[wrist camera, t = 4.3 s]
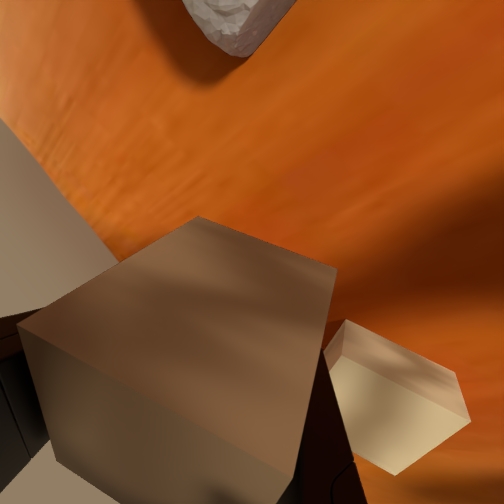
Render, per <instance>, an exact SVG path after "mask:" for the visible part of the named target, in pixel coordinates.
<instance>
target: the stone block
mask: <svg viewBox="0 0 504 504" xmlns="http://www.w3.org/2000/svg"><path fill="white" fill-rule="evenodd" d="M182 1H183V3H184V5H185V7H186V9H187V11H188V12H189V14H190V15H191V17H192V18H193V20H194V21H195V23H196V24H197V25H198V26H199V28H200V29H201V30H202V32H203V33H204V35H205V36H206V37H207V39H208V40H209V41H210V42H212V43H213V44H215V45H217V46H218V47H220V48H221V49H222V50H223V51H224V52H226V53H227V54H229V55H231V56H238V57H242V58H243V57H248V56H249V55H251V54H252V53H254V51H255V50H256V49H257V48H258V47H259V45H260V44H261V43H262V42H263V41H264V40H265V39H266V37H267V36H268V35H269V34H270V32H271V31H272V30H273V29H274V27H275V26H276V25H277V23H278V22H279V21H280V20H281V19H282V17H283V16H284V15H285V14H286V13H287V11H288V10H289V9H290V8H291V6H292V5H293V4H294V3H295V1H296V0H182Z"/></svg>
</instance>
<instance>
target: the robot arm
mask: <svg viewBox="0 0 504 504" xmlns="http://www.w3.org/2000/svg"><path fill="white" fill-rule="evenodd" d="M44 308H45V307H44ZM41 309H43V308H40V309H36V310H32V311H28V312H24V313H20V314H15V315H11V316H6V317H2V318H0V493H1V492H2V491H3V489H5V487H6V486H7V485H8V484H9V483H10V482H11V481H12V480H13V479H14V478H15V477H16V476H17V474H18V473H19V472H20V471H21V470H22V469H23V468H24V467H25V466H26V465H27V464H28V462H29V461H30V460H31V458H33V457H34V456H35V455H36V454H37V452H39V450H40V449H41V448H42V447H43V446H44V445H45V444H46V443H47V442H48V441H49V440H50V437H49V434H48V430H47V427H46V424H45V420H44V417H43V413H42V410H41V407H40V403H39V400H38V396H37V393H36V390H35V386H34V383H33V379H32V376H31V373H30V369H29V366H28V362H27V359H26V356H25V352H24V349H23V345H22V342H21V338H20V335H19V332H18V328H17V325H16V324H18V323H19V322H21V321H23V320H24V319H26V318H28V317H29V316H31V315H33V314H34V313H36V312H38V311H39V310H41ZM353 461H354V457H353V453H352V450H351V446H350V443H349V439H348V436H347V432H346V429H345V425H344V422H343V419H342V415H341V412H340V408H339V405H338V401H337V398H336V394H335V391H334V387H333V384H332V380H331V377H330V373H329V370H328V366H327V363H326V359H325V356H324V352H323V349H322V347H321V349H320V354H319V358H318V363H317V368H316V372H315V377H314V382H313V386H312V391H311V395H310V400H309V405H308V409H307V414H306V419H305V423H304V428H303V433H302V437H301V442H300V447H299V451H298V456H297V460H296V465H295V470H294V474H293V478H292V480H291V482H290V483H289V485H288V486H287V488H286V489H285V491H284V492H283V494H282V495H281V497H280V498H279V500H278V501H277V503H276V504H368V503H367V500H366V497H365V494H364V490H363V487H362V484H361V481H360V477H359V474H358V470H357V467H356V464H355V462H353Z"/></svg>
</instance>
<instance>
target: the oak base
mask: <svg viewBox="0 0 504 504" xmlns="http://www.w3.org/2000/svg"><path fill="white" fill-rule="evenodd" d="M324 356H325V359H326V363H327V366H328V370H329V373H330V377H331V380H332V384H333V387H334V391H335V394H336V398H337V401H338V405H339V408H340V412H341V415H342V419H343V422H344V425H345V429H346V432H347V436H348V439H349V443H350V446H351V450H352V452H354V453H356V454H358V455H359V456H361V457H363V458H365V459H366V460H368V461H370V462H372V463H373V464H375V465H377V466H379V467H380V468H382V469H384V470H386V471H387V472H389V473H391V474H393V475H394V476H395V475H397V474H398V473H400V472H401V471H402V470H404V469H405V468H407V467H408V466H409V465H411V464H412V463H414V462H415V461H416V460H418V459H419V458H421V457H422V456H423V455H425V454H426V453H428V452H429V451H430V450H432V449H433V448H435V447H436V446H437V445H439V444H440V443H442V442H443V441H444V440H446V439H447V438H449V437H450V436H451V435H453V434H454V433H456V432H457V431H458V430H460V429H461V428H463V427H464V426H465V425H467V424H468V423H470V422H471V420H470V417H469V414H468V411H467V408H466V405H465V402H464V399H463V396H462V393H461V390H460V387H459V384H458V381H457V378H456V375H455V372H453V371H451V370H449V369H447V368H445V367H443V366H440V365H438V364H436V363H434V362H432V361H430V360H428V359H426V358H424V357H422V356H420V355H418V354H416V353H414V352H412V351H410V350H408V349H406V348H404V347H402V346H400V345H398V344H396V343H394V342H392V341H390V340H388V339H386V338H384V337H382V336H380V335H378V334H376V333H374V332H372V331H369V330H367V329H365V328H363V327H361V326H359V325H357V324H355V323H353V322H351V321H349V320H347V319H345V321H344V322H343V324H342V325H341V327H340V328H339V330H338V331H337V333H336V334H335V336H334V337H333V338H332V340H331V341H330V343H329V344H328V346H327V347H326V349H325V350H324Z"/></svg>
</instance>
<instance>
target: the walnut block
mask: <svg viewBox="0 0 504 504" xmlns="http://www.w3.org/2000/svg"><path fill="white" fill-rule="evenodd" d="M337 270H338V269H337V268H334V267H331V266H329V265H326V264H323V263H321V262H318V261H315V260H313V259H310V258H307V257H305V256H302V255H300V254H297V253H294V252H292V251H289V250H286V249H284V248H281V247H278V246H276V245H273V244H270V243H268V242H265V241H263V240H260V239H257V238H255V237H252V236H249V235H247V234H244V233H241V232H239V231H236V230H233V229H231V228H228V227H226V226H223V225H220V224H218V223H215V222H212V221H210V220H207V219H204V218H202V217H199V216H197V217H196V218H194V219H192V220H190V221H189V222H187V223H185V224H184V225H182V226H180V227H179V228H177V229H175V230H174V231H172V232H170V233H169V234H167V235H165V236H164V237H162V238H160V239H159V240H157V241H155V242H154V243H152V244H150V245H149V246H147V247H145V248H144V249H142V250H140V251H138V252H137V253H135V254H133V255H132V256H130V257H128V258H127V259H125V260H123V261H122V262H120V263H118V264H117V265H115V266H113V267H112V268H110V269H108V270H107V271H105V272H103V273H102V274H100V275H98V276H97V277H95V278H93V279H92V280H90V281H88V282H87V283H85V284H83V285H81V286H80V287H78V288H76V289H75V290H73V291H71V292H70V293H68V294H66V295H65V296H63V297H61V298H60V299H58V300H56V301H55V302H53V303H51V304H50V305H48V306H46V307H45V308H43V309H41V310H39V311H38V312H36V313H34V314H33V315H31V316H29V317H28V318H26V319H24V320H23V321H21V322H19V323H18V324H16V325H17V328H18V332H19V335H20V338H21V342H22V345H23V349H24V352H25V356H26V359H27V362H28V366H29V369H30V373H31V376H32V379H33V383H34V386H35V390H36V393H37V396H38V400H39V403H40V407H41V410H42V413H43V417H44V420H45V424H46V427H47V430H48V434H49V437H50V440H51V444H52V447H53V451H54V454H55V458H56V461H57V462H59V463H60V464H62V465H63V466H65V467H66V468H68V469H69V470H71V471H72V472H74V473H75V474H77V475H78V476H80V477H81V478H83V479H84V480H86V481H87V482H89V483H90V484H92V485H93V486H95V487H96V488H98V489H99V490H101V491H102V492H104V493H105V494H107V495H108V496H110V497H111V498H113V499H114V500H116V501H117V502H119V503H120V504H276V503H277V501H278V500H279V498H280V497H281V495H282V494H283V492H284V491H285V489H286V488H287V486H288V485H289V483H290V482H291V480H292V478H293V474H294V470H295V465H296V460H297V456H298V451H299V447H300V442H301V437H302V433H303V428H304V423H305V419H306V414H307V409H308V405H309V400H310V395H311V391H312V386H313V382H314V377H315V372H316V368H317V363H318V358H319V354H320V349H321V344H322V340H323V335H324V330H325V326H326V321H327V317H328V312H329V307H330V303H331V298H332V293H333V289H334V284H335V279H336V275H337Z"/></svg>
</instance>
